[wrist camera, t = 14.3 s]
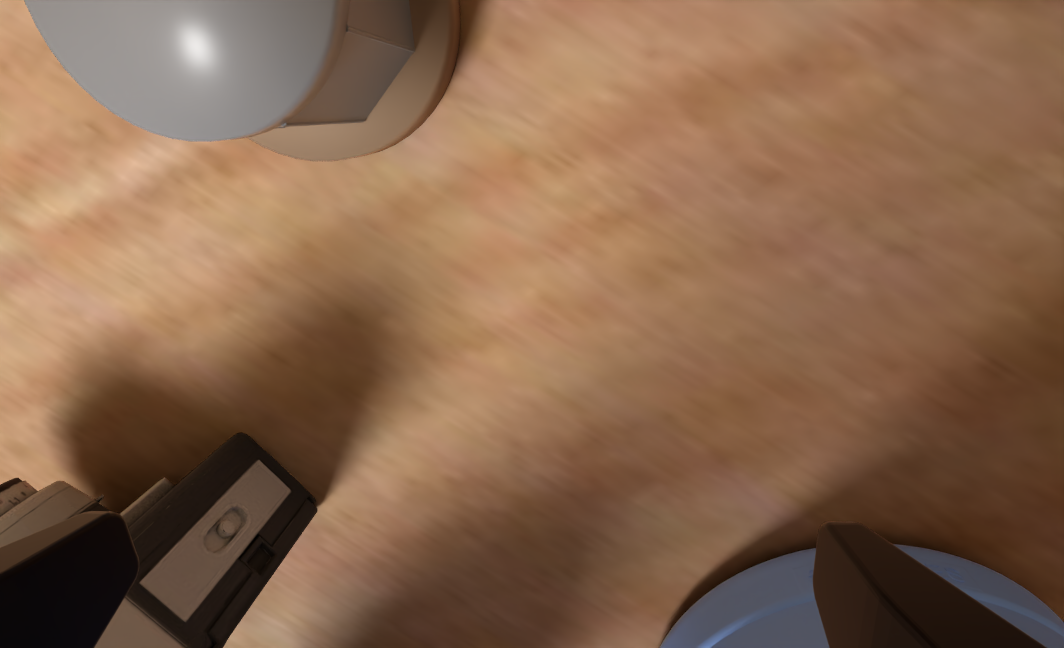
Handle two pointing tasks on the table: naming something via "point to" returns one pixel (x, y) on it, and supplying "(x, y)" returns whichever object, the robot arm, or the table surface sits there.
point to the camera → (186, 543)
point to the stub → (386, 95)
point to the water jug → (793, 617)
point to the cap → (229, 60)
